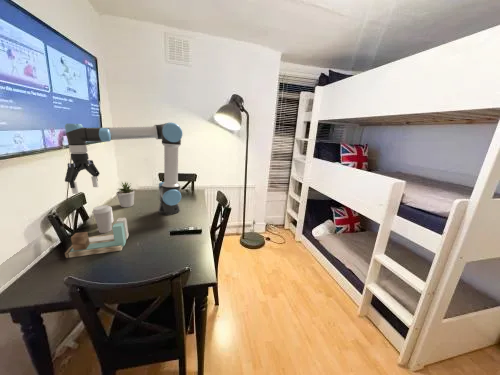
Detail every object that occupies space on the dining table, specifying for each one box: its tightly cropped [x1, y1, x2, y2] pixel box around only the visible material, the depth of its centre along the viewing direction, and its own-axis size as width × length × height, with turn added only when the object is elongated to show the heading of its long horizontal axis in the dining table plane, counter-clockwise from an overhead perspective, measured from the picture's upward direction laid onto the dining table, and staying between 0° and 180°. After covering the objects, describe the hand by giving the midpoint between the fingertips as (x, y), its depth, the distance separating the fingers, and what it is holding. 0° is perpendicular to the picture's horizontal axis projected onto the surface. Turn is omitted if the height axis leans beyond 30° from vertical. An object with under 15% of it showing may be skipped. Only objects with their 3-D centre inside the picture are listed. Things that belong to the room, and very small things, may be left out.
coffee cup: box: [92, 204, 113, 234], centre depth 127 cm, size 10×10×15 cm
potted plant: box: [115, 182, 136, 208], centre depth 168 cm, size 13×14×20 cm
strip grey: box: [89, 217, 130, 243], centre depth 114 cm, size 23×5×11 cm, turn 109°
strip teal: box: [70, 223, 127, 252], centre depth 107 cm, size 23×5×11 cm, turn 109°
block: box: [70, 231, 90, 251], centre depth 105 cm, size 5×5×7 cm
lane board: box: [64, 233, 124, 259], centre depth 112 cm, size 23×16×3 cm
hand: (86, 190), depth 121 cm, fingers open, 13 cm apart
